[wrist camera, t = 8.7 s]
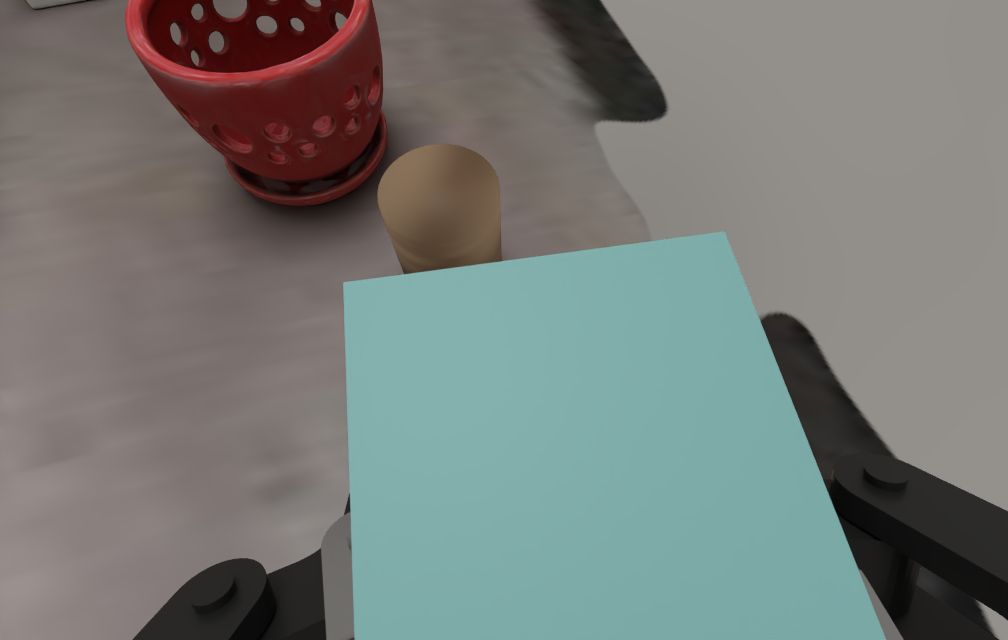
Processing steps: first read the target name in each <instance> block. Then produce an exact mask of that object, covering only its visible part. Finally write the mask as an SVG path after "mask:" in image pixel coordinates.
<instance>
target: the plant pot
mask: <svg viewBox="0 0 1008 640" xmlns="http://www.w3.org/2000/svg"><path fill="white" fill-rule="evenodd" d="M320 1H321V6H319V7H314V6H312V5H310V4H308V3H307V2H306V1H305V0H277V1H269V0H247V8H246V10H245V12H244V13H243V14H242V15H241V16H239V17H237V18H225V17H223V16H221V15H220V14H218V13H217V11H216V10H215V8H214V5H213V0H129V2H128V4H127V8H126V13H125V26H126V31H127V35H128V39H129V41H130V43H131V46H132V48H133V50H134V51H135V53H136V55H137V56H138V58H139V59H140V61H141V63H142V64H143V66H144V67H145V69H146V70H147V72H148V73H149V75H150V76H151V77H152V79H153V80H154V82H155V83H156V84H157V86H158V87H159V88H160V90H161V91H162V92H163V94H164V95H165V96H166V97H167V99H168V100H169V101H170V102H171V104H172V105H173V106H174V107H175V108H176V109H177V111H178V112H179V113H180V114H181V115H182V117H183V118H184V119H185V120H186V121H187V122H188V123H189V124H190V126H191V127H192V128H193V129H194V130H195V131H196V132H197V133H198V134H199V135H200V136H201V137H202V138H203V139H204V140H206V141H207V142H208V143H209V144H210V145H211V146H212V147H214V148H215V149H216V150H217V151H219V152H220V153H221V154H222V155H224V159H225V163H226V166H227V168H228V170H229V172H230V173H231V175H232V176H233V178H234V179H235V180H236V181H237V182H238V183H239V184H240V185H241V186H242V187H244V188H245V189H246V190H248V191H249V192H250V193H252V194H254V195H255V196H258V197H260V198H262V199H264V200H267V201H270V202H274V203H278V204H283V205H293V206H306V205H315V204H321V203H325V202H328V201H331V200H334V199H337V198H339V197H341V196H343V195H345V194H347V193H349V192H350V191H352V190H354V189H355V188H356V187H358V186H359V185H361V184H362V183H363V182H364V181H365V180H366V179H367V178H368V177H369V176H370V175H371V174H372V173H373V171H374V170H375V168H376V167H377V166H378V164H379V162H380V161H381V158H382V156H383V154H384V151H385V148H386V144H387V126H386V120H385V117H384V115H383V113H382V111H381V105H382V98H383V65H382V53H381V45H380V38H379V33H378V27H377V22H376V17H375V12H374V8H373V3H372V0H320ZM198 3H199V4H200V5H201V6H202V7H203V16H202V18H201V19H200V20H195V19H194V18H193V16H192V14H191V10H192V7H193V6H194V4H198ZM336 12H338V13H340V14H343V16H345V17H346V18H347V21H346V23H345V24H344V25H343V27H342V28H341V29H340V30H338V28H337V25H336V22H335V15H336ZM260 16H269V17H272V18H273V19H274V20H275V21H276V23H277V30H276V31H275V32H274V33H271V34H267V33H264V32H262V31H260V30H259V29H258V27H257V24H256V21H257V18H259V17H260ZM292 18H299V19H300V20H301V21H302V22H303V23H304V27H305V28H304V31H301V32H300V31H297V30H295V29H294V28H293V27H292V25H291V22H290V20H291V19H292ZM174 22H175V23H176V24H177V25H178V27H179V29H180V32H181V40H180V43H179V45H177V44H176V43H175V42H174V41H173V40H172V37H171V32H170V26H171V24H172V23H174ZM214 31H218V32H220V33H221V34H222V36H223V38H224V47H223V49H222V50H221V51H220V52H217V53H216V52H214V51H213V50H212V49H211V48H210V46H209V41H208V40H209V36H210V34H211V33H212V32H214ZM192 50H194V51H195V52H196V53H197V55H198V57H199V64H198V66H196V65H195V64H194V63H193V61H192V59H191V52H192Z"/></svg>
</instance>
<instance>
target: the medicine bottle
mask: <svg viewBox="0 0 1008 640" xmlns="http://www.w3.org/2000/svg"><path fill="white" fill-rule="evenodd" d="M25 1H26V2H27V3H28V4H29V5H30V6H31V7H32V8H35V9H38V8H44V7H50V6H56V5H62V4H67V3H73V2H79V1H85V0H25Z"/></svg>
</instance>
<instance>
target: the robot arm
mask: <svg viewBox="0 0 1008 640" xmlns="http://www.w3.org/2000/svg"><path fill="white" fill-rule="evenodd" d="M823 481H824V484H825V486H826V489H827V491H828V494H829V497H830V499H831V502H832V504H833V507H834V509H835V512H836V514H837V517H838V519H839V522H840V524H841V527H842V529H843V532H844V534H845V537H846V539H847V542H848V545H849V547H850V550H851V552H852V555H853V557H854V560H855V562H856V565H857V567H858V570H859V572H860V575H861V577H862V580H863V582H864V585H865V587H866V590H867V593H868V595H869V598H870V600H871V603H872V605H873V608H874V610H875V613H876V615H877V618H878V620H879V623H880V625H881V628H882V630H883V633H884V635H885V638H886V640H999V639H997V638H996V637H994V636H993V635H991V634H990V633H988V632H986V631H985V630H983V629H982V628H980V627H979V626H977V625H976V624H974V623H973V622H971V621H970V620H968V619H967V618H965V617H964V616H962V615H961V614H959V613H958V612H956V611H955V610H953V609H951V608H950V607H948V606H947V605H945V604H944V603H942V602H941V601H939V600H938V599H936V598H935V597H933V596H932V595H930V594H929V593H927V592H926V591H924V590H923V589H921V588H920V587H918V586H917V585H916V584H917V580H918V576H919V572H920V569H921V565H922V566H923V567H925V568H926V569H928V570H930V571H931V572H933V573H934V574H936V575H938V576H939V577H941V578H943V579H944V580H946V581H947V582H949V583H951V584H952V585H954V586H955V587H957V588H959V589H960V590H962V591H963V592H965V593H967V594H968V595H970V596H971V597H973V598H975V599H976V600H978V601H979V602H981V603H983V604H984V605H986V606H987V607H989V608H991V609H992V610H994V611H996V612H997V613H999V614H1000V615H1002V616H1003V617H1004V618H1006V619H1007V620H1008V511H1006V510H1004V509H1002V508H1000V507H998V506H996V505H993V504H991V503H989V502H987V501H985V500H983V499H981V498H979V497H977V496H975V495H973V494H971V493H968V492H966V491H964V490H962V489H960V488H958V487H956V486H954V485H952V484H950V483H948V482H945V481H943V480H941V479H939V478H937V477H935V476H933V475H931V474H929V473H927V472H925V471H923V470H921V469H918V468H916V467H914V466H912V465H910V464H908V463H905V462H903V461H900V460H897V459H895V458H891V457H887V456H883V455H878V454H869V453H856V454H850V455H846V456H843V457H841V458H840V459H838V460H837V461H836V462H835V464H834V467H833V472H832V478H831V480H828V479H823ZM133 640H355V637H354V605H353V574H352V542H351V510H350V494H349V497H348V501H347V505H346V509H345V513H344V516H342V517H341V518H340V519H338V520H337V521H336V522H335V523H334V524H333V525H332V526H331V527H330V528H329V530H328V531H327V532H326V534H325V536H324V538H323V541H322V544H321V548H320V549H319V550H318V551H316V552H315V553H313V554H312V555H310V556H308V557H306V558H304V559H302V560H300V561H298V562H296V563H293V564H291V565H289V566H286V567H284V568H281V569H279V570H277V571H274V572H272V573H269V574H266V571H265V569H264V567H263V566H262V565H261V564H260V563H259V562H257V561H255V560H252V559H248V558H239V559H232V560H228V561H224V562H221V563H218V564H216V565H214V566H211V567H209V568H207V569H205V570H204V571H202V572H200V573H199V574H197V575H196V576H194V577H193V578H191V579H190V580H189V581H188V582H186V583H185V584H184V585H183V586H182V587H181V588H180V589H179V590H178V591H177V592H176V593H175V594H174V595H173V596H172V597H171V598H170V599H169V601H168V602H167V603H166V604H165V605H164V606H163V607H162V608H161V609H160V610H159V611H158V613H157V614H156V615H155V616H154V617H153V618H152V619H151V620H150V621H149V622H148V623H147V624H146V626H145V627H144V628H143V629H142V630H141V631H140V632H139V633H138V634H137V635H136V636H135V637H134V639H133Z"/></svg>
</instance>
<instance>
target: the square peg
mask: <svg viewBox="0 0 1008 640" xmlns="http://www.w3.org/2000/svg"><path fill="white" fill-rule="evenodd" d="M343 289H344V321H345V352H346V384H347V416H348V447H349V479H350V510H351V542H352V574H353V605H354V637H355V640H886V638H885V635H884V633H883V630H882V628H881V625H880V623H879V620H878V618H877V615H876V613H875V610H874V608H873V605H872V603H871V600H870V598H869V595H868V593H867V590H866V587H865V585H864V582H863V580H862V577H861V575H860V572H859V570H858V567H857V565H856V562H855V560H854V557H853V555H852V552H851V550H850V547H849V545H848V542H847V539H846V537H845V534H844V532H843V529H842V527H841V524H840V522H839V519H838V517H837V514H836V512H835V509H834V507H833V504H832V502H831V499H830V497H829V494H828V491H827V489H826V486H825V484H824V481H823V479H822V476H821V474H820V471H819V469H818V466H817V464H816V461H815V459H814V456H813V454H812V451H811V449H810V446H809V443H808V441H807V438H806V436H805V433H804V431H803V428H802V426H801V423H800V421H799V418H798V416H797V413H796V411H795V408H794V406H793V403H792V401H791V398H790V395H789V393H788V390H787V388H786V385H785V383H784V380H783V378H782V375H781V373H780V370H779V368H778V365H777V363H776V360H775V358H774V355H773V352H772V350H771V347H770V345H769V342H768V340H767V337H766V335H765V332H764V330H763V327H762V325H761V322H760V320H759V317H758V315H757V312H756V310H755V307H754V305H753V302H752V299H751V297H750V295H749V292H748V290H747V287H746V285H745V282H744V280H743V277H742V274H741V272H740V270H739V267H738V264H737V262H736V259H735V257H734V254H733V252H732V249H731V246H730V244H729V241H728V239H727V236H726V234H725V232H718V233H710V234H703V235H695V236H688V237H680V238H673V239H665V240H658V241H650V242H643V243H635V244H628V245H620V246H613V247H605V248H598V249H590V250H583V251H575V252H568V253H560V254H553V255H546V256H538V257H531V258H523V259H516V260H508V261H501V262H493V263H486V264H478V265H471V266H463V267H456V268H448V269H441V270H433V271H426V272H418V273H411V274H403V275H396V276H388V277H381V278H374V279H366V280H359V281H351V282H344V283H343Z"/></svg>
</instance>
